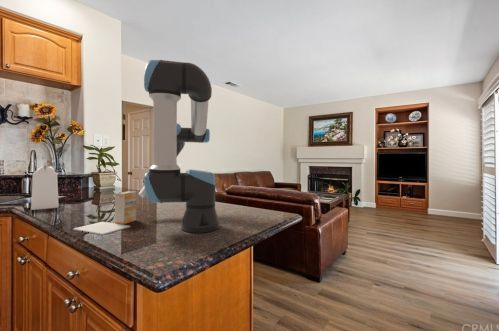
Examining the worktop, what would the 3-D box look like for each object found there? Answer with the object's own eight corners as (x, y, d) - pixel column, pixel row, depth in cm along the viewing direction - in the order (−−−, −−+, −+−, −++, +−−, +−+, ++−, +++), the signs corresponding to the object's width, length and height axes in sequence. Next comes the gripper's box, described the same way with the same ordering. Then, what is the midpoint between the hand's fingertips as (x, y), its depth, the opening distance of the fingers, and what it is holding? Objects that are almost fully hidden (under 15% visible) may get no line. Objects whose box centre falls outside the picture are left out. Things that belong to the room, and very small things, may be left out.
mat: (130, 227, 101) (130, 225, 101) (102, 235, 90) (102, 233, 90) (102, 222, 107) (102, 221, 107) (73, 229, 96) (73, 228, 96)
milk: (31, 206, 141) (31, 160, 140) (57, 204, 148) (57, 160, 148) (31, 209, 132) (30, 160, 131) (58, 207, 139) (58, 160, 138)
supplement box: (124, 225, 104) (124, 193, 104) (114, 224, 105) (114, 193, 105) (137, 220, 112) (137, 191, 112) (127, 219, 113) (127, 190, 113)
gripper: (179, 165, 131) (156, 201, 116) (159, 164, 136) (135, 199, 121) (172, 154, 126) (147, 191, 111) (152, 154, 131) (126, 189, 116)
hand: (141, 195), depth 116 cm, fingers closed
